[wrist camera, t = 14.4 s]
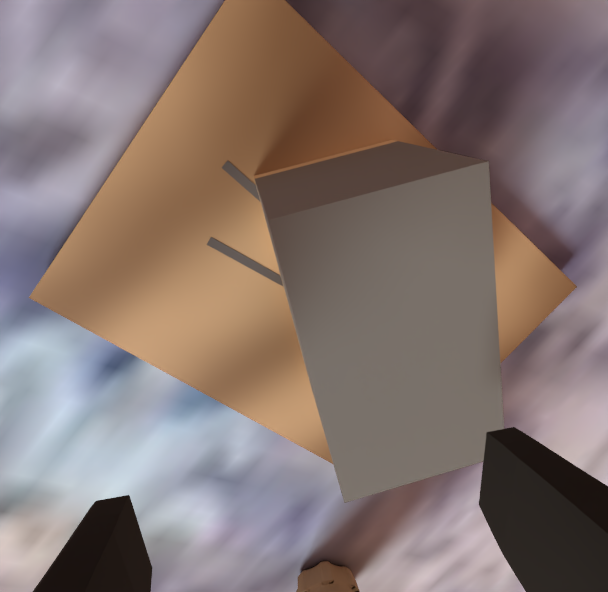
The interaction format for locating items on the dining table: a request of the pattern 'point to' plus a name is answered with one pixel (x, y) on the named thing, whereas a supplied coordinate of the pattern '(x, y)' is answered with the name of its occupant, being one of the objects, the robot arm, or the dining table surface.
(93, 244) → the oak board
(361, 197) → the block
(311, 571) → the handle
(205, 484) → the dining table surface
